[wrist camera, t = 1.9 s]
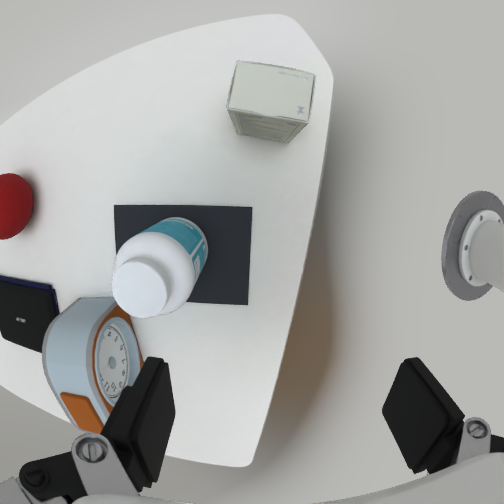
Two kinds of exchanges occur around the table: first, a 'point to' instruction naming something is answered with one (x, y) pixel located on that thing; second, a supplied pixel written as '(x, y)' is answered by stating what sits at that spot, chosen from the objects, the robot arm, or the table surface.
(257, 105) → the cosmetic box
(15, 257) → the table surface
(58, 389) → the alarm clock
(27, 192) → the apple
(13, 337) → the laptop
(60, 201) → the table surface
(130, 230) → the mat
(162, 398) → the robot arm
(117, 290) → the pill bottle
